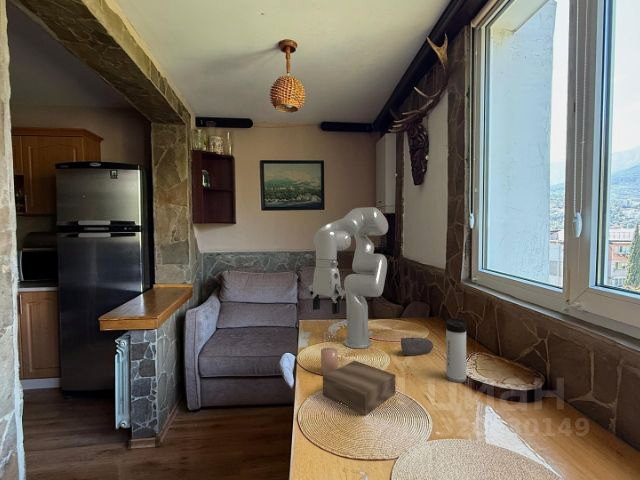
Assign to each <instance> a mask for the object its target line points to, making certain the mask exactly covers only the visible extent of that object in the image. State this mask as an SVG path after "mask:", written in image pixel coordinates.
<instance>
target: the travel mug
mask: <svg viewBox="0 0 640 480" xmlns="http://www.w3.org/2000/svg"><path fill="white" fill-rule="evenodd" d="M445 325H446V328H445V330H446V331H445V333H446V334H445V340H446V341H445V343H446V345H445V347H446V348H445V350H446V351H445V359H446V360H445V361H446V362H445V367H446V369H445V372H446V379H448V380H449V381H451V382H453V383H458V384H459V383H465V382H466V381H467V322H466V321H465V320H463V319H461V318H460V319H459V318H458V317H452V318H449V319H446V324H445Z"/></svg>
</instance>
